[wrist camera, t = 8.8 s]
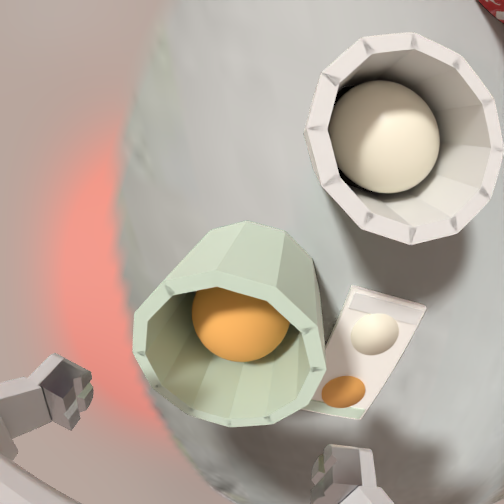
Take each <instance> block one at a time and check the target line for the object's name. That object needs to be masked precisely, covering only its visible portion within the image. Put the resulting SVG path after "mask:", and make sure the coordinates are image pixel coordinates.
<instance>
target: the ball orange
mask: <svg viewBox="0 0 504 504" xmlns="http://www.w3.org/2000/svg"><path fill="white" fill-rule="evenodd" d="M192 321H193V325H194V329H195V331H196V334H197V336H198V337H199V339H200V340H201V342H202V343H203V344H204V346H205V347H206V348H207V349H208V350H210V351H211V352H212V353H214V354H215V355H217V356H219V357H221V358H223V359H226V360H230V361H235V362H248V361H253V360H257V359H260V358H262V357H264V356H266V355H268V354H269V353H271V352H272V351H273V350H274V349H276V347H277V346H278V345H279V344H280V343H281V342H282V340H283V339H284V337H285V335H286V333H287V331H288V328H289V324H290V322H289V321H288V320H287V319H286V318H285V317H284V316H283V315H282V314H280V313H279V312H278V311H277V310H276V309H275V308H274V307H273V306H272V305H271V304H270V303H269V302H267V301H265V300H262V299H258V298H255V297H251V296H248V295H244V294H241V293H237V292H234V291H230V290H227V289H224V288H220V287H213V288H207V289H202V290H197V292H196V294H195V297H194V300H193V304H192Z"/></svg>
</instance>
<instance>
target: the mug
mask: <svg viewBox="0 0 504 504" xmlns="http://www.w3.org/2000/svg"><path fill="white" fill-rule="evenodd" d="M478 1H479V2H480V3H481V4H482V5H483V6H484V7H485V8H486V9H487V10H488V11H489V12H490V13H491V14H492V15H493V16H494V17H496V18H497V19H498V20H500V21H501V22H502V23H504V0H478Z"/></svg>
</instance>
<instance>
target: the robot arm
mask: <svg viewBox="0 0 504 504" xmlns="http://www.w3.org/2000/svg"><path fill="white" fill-rule="evenodd" d="M91 379H92V375H91V372H90V371H88V370H86V369H85V368H82V367H81V366H79V365H77V364H75V363H73V362H71V361H69V360H67V359H65V358H64V357H62V356H60V355H58V354H56V353H54V354H51V355H50V356H49V357H48V358H47V359H46V360H45V361H44V362H43V363H42V364H41V365H40V366H39V367H38V368H37V369H36V370H35V371H34V372H33V373H32V374H31V375H30V376H29V377H28V378H26V377H21V378H17V379H13V380H9V381H5V382H1V383H0V504H81V503H80V502H78V501H76V500H74V499H72V498H70V497H68V496H66V495H65V494H63V493H61V492H60V491H58V490H56V489H55V488H53V487H51V486H49V485H48V484H46V483H45V482H43V481H42V480H40V479H38V478H37V477H35V476H34V475H32V474H30V473H29V472H28V471H26V470H25V469H23V468H22V467H20V466H19V465H18V464H16V463H15V462H13V459H14V458H15V457H16V455H17V454H18V449H17V447H16V445H15V444H14V442H13V440H12V439H13V438H15V437H17V436H20V435H22V434H25V433H27V432H29V431H32V430H34V429H36V428H39V427H41V426H43V425H45V424H48V423H50V422H51V420H52V421H54V422H55V423H57V424H59V425H61V426H63V427H65V428H67V429H68V430H72V429H73V428H74V426H75V425H76V424H77V422H78V421H79V420H80V414H79V412H82V411H85V410H87V408H88V407H89V405H90V403H91V401H92V398H93V386H92V385H91V384H90V380H91ZM311 480H312V482H313V483H314V485H315V486H314V487H313V488H312V490H311V497H310V504H395V503H394V502H393V501H392V500H391V499H390V498H389V496H388V495H387V494H386V493H385V492H384V490H383V489H382V488H381V487H377V482H376V474H375V467H374V460H373V453H372V450H371V449H367V448H356V447H351V446H343V445H335V444H328V445H327V446H326V447H325V449H324V454H323V455H321V456H319V457H318V458H317V459H316V461H315V463H314V466H313V468H312V474H311Z"/></svg>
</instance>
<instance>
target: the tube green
mask: <svg viewBox="0 0 504 504" xmlns="http://www.w3.org/2000/svg"><path fill="white" fill-rule="evenodd" d="M213 287H220V288H224V289H227V290H230V291H234V292H237V293H241V294H244V295H248V296H251V297H255V298H258V299H262V300H265V301H267V302H269V303H270V304H271V305H272V306H273V307H274V308H275V309H276V310H277V311H278V312H279V313H280V314H282V315H283V316H284V317H285V318H286V319H287V320H288V321H289V322H290V323H291V324H290V325H289V328H288V331H287V333H286V335H285V337H284V339H283V340H282V342H281V343H280V344H279V345H278V346H277V347H276V349H274V350H273V351H272V352H271V353H269V354H268V355H266V356H264V357H262V358H260V359H257V360H253V361H248V362H235V361H230V360H226V359H223V358H221V357H219V356H217V355H215V354H214V353H212V352H211V351H210V350H208V349H207V348H206V347H205V346H204V344H203V343H202V342H201V340H200V339H199V337H198V336H197V334H196V331H195V329H194V325H193V321H192V304H193V300H194V297H195V293H194V291H197V290H202V289H207V288H213ZM133 354H134V356H135V358H136V359H137V361H138V363H139V365H140V367H141V369H142V371H143V372H144V374H145V376H146V378H147V379H148V381H149V383H150V385H151V387H152V388H153V389H154V390H156V391H157V392H158V393H159V394H161V395H162V396H163V397H164V398H166V399H167V400H168V401H170V402H171V403H172V404H174V405H175V406H176V407H178V408H179V409H180V410H182V411H183V412H184V413H186V414H187V415H190V416H193V417H197V418H200V419H203V420H206V421H209V422H213V423H216V424H220V425H223V426H227V427H244V426H258V425H270V424H274V423H276V422H278V421H280V420H282V419H283V418H285V417H287V416H289V415H291V414H293V413H294V412H296V411H298V410H300V409H301V408H303V407H305V406H307V405H308V404H309V402H310V401H311V399H312V397H313V395H314V393H315V391H316V389H317V387H318V385H319V384H320V382H321V380H322V378H323V376H324V374H325V372H326V370H327V368H326V354H325V342H324V330H323V319H322V308H321V299H320V291H319V286H318V282H317V277H316V273H315V269H314V264H313V260H312V258H311V257H310V256H309V255H308V254H307V253H306V252H305V251H304V250H303V249H302V248H301V247H300V246H299V245H298V244H297V243H296V242H295V241H294V239H293V238H292V237H291V236H290V235H289V234H288V233H287V232H286V231H283V230H279V229H276V228H272V227H268V226H265V225H261V224H258V223H254V222H250V221H244V222H240V223H236V224H232V225H228V226H224V227H220V228H216V229H212V230H210V231H209V232H208V233H207V234H206V235H205V236H204V238H203V239H202V240H201V241H200V242H199V243H198V244H197V245H196V246H195V247H194V248H193V249H192V250H191V251H190V252H189V253H188V254H187V256H186V257H185V258H184V259H183V260H182V261H181V262H180V263H179V264H178V265H177V266H176V267H175V269H174V270H173V271H172V272H171V273H170V274H169V275H168V276H167V277H166V278H165V279H164V281H163V282H162V283H161V284H160V285H159V286H158V287H157V288H156V289H155V290H154V292H153V293H152V294H151V295H150V296H149V297H148V298H147V299H146V301H145V302H144V303H143V304H142V305H141V306H140V307H139V308H138V310H137V311H136V312H135V313H134V329H133Z"/></svg>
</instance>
